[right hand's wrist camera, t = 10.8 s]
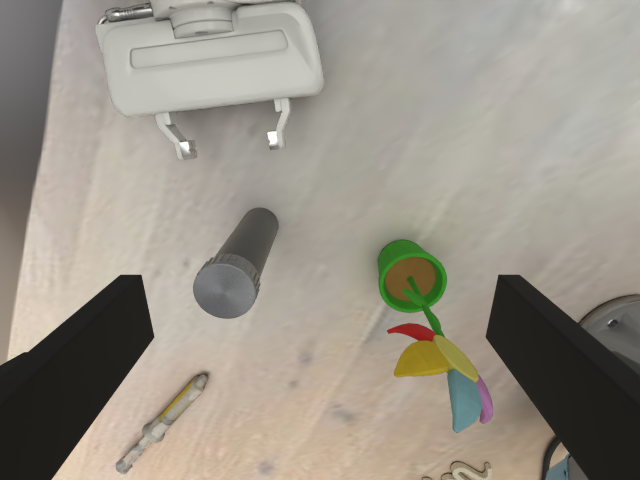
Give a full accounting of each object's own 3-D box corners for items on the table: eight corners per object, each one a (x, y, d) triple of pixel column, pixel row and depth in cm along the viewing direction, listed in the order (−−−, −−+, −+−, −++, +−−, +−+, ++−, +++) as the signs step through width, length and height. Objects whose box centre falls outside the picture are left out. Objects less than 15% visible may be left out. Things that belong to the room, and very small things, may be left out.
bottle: (272, 204, 44) (243, 259, 27) (282, 237, 45) (260, 307, 29) (238, 212, 44) (189, 270, 28) (248, 244, 46) (208, 317, 29)
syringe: (200, 367, 52) (194, 380, 50) (220, 380, 53) (215, 394, 51) (116, 451, 59) (106, 466, 57) (134, 462, 60) (126, 477, 57)
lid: (250, 247, 29) (245, 257, 27) (267, 299, 31) (263, 313, 29) (192, 259, 29) (182, 270, 27) (212, 310, 31) (204, 324, 29)
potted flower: (356, 264, 46) (391, 421, 23) (395, 219, 44) (477, 343, 21) (409, 300, 48) (491, 480, 25) (448, 259, 46) (579, 414, 22)
